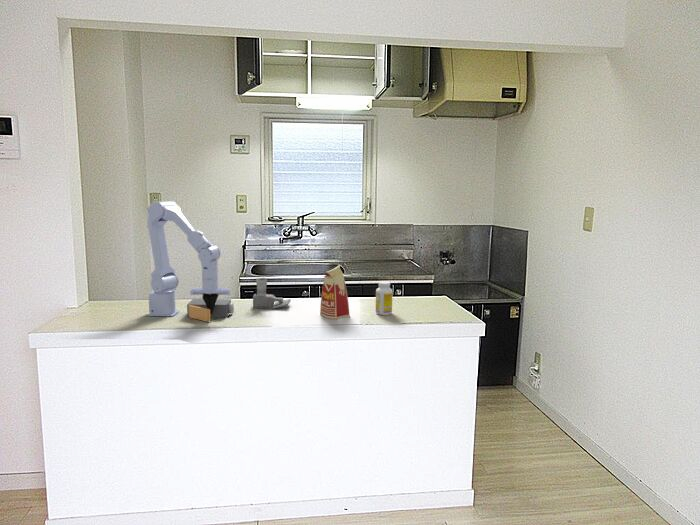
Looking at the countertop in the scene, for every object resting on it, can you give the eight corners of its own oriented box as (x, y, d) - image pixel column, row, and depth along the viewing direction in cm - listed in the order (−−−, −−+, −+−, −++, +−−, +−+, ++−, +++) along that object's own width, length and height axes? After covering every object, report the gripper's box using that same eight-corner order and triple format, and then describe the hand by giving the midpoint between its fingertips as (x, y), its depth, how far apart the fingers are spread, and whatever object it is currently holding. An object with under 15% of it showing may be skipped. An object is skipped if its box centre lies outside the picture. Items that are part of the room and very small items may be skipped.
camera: (255, 277, 224) (291, 278, 224) (255, 304, 226) (290, 305, 226) (251, 281, 216) (288, 282, 216) (251, 309, 218) (288, 310, 218)
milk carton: (334, 311, 217) (335, 263, 213) (350, 316, 210) (351, 266, 207) (317, 315, 210) (318, 265, 207) (333, 320, 204) (334, 269, 200)
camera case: (187, 317, 205) (187, 304, 204) (193, 311, 213) (193, 298, 213) (231, 317, 205) (230, 304, 204) (235, 311, 214) (234, 299, 213)
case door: (186, 317, 203) (186, 305, 202) (189, 316, 204) (189, 304, 204) (207, 322, 197) (207, 310, 196) (210, 321, 198) (210, 309, 198)
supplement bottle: (394, 312, 216) (395, 281, 214) (388, 316, 211) (389, 284, 208) (379, 310, 219) (379, 280, 217) (372, 314, 213) (373, 282, 211)
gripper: (187, 280, 195) (188, 315, 197) (227, 280, 196) (228, 316, 198) (192, 276, 202) (193, 311, 204) (231, 276, 203) (231, 311, 205)
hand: (211, 313), depth 202 cm, fingers closed
